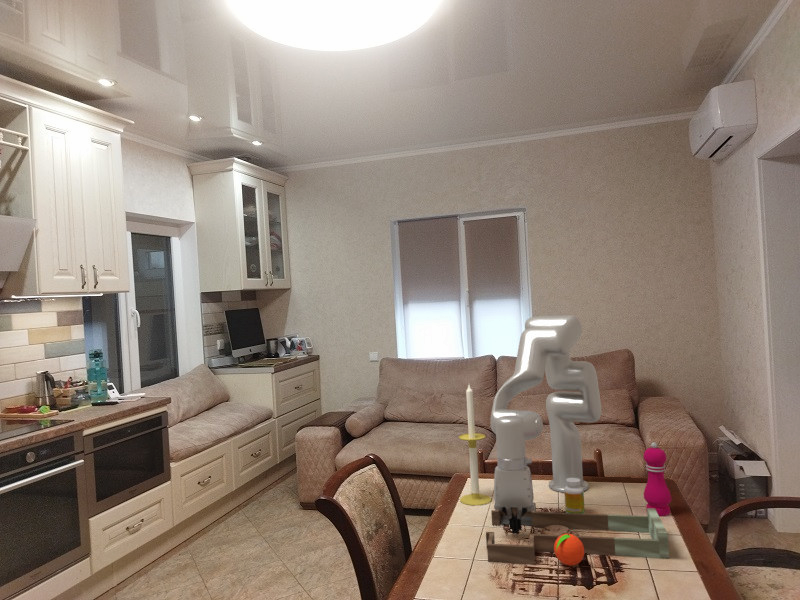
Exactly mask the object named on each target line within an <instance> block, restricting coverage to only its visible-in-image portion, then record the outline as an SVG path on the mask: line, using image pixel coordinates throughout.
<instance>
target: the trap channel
mask: <svg viewBox="0 0 800 600" xmlns="http://www.w3.org/2000/svg"><path fill="white" fill-rule="evenodd" d="M534 506H535V510H534V511H531V512H526V513H525V514H524V515H523V516H522V517H521V525H523V527H527V526H528V527H531V528H533V527H535V528H536V529H539V528H540V529H543V528H544V527H547V526H550V525H561V526H565V527H567V528H569V530H580V529H589V530H588V531H604V530H605V531H607V532H609V531H611V532H630V533H649V536H650V538H638V537H637V538H633V537H631V538H630V537H616V536H615V537H611V536H610V537H609V536H594V535H593V536H592V535H591V536H589V535H579V536H576V537H577V538H579V539H580V541H581V542H582V544H583V546H584V555H593V554H598V555H597V556H612V557H613V556H615V557H632V558H635V557H636V558H653V559H670V549H669V534H668V533H669V532H668V531H667V529H666V527H665V525H664V524H663V523H664V522H663V521H662V520H661V518H660V517H661V516H659V515H658V513H657V511H656V510H655V508H647V511H646V515H640V514H639V515H635V514H634V515H633V514H611V513H610V514H605V513H604V514H603V513H600V514H599V513H584V514H583V513H566V512H556V511H555V512H552V511H550V512H549V511H537V508H536V507H537V506H536V502H534ZM517 509H518V507H512V511H513V513H514V516H516V513H517ZM490 514H491V526H492V525H493V527H499V526H501V525H500V524H503V525H504V524H505V525H504V526H510V525H509V518H508V516H507V515H506V514H505V513H504V512H503V511H499V510H496V509H494V510H492V509H491V511H490ZM494 525H496V526H494ZM497 525H498V526H497ZM503 525H502V526H503ZM535 528H534V529H535ZM605 531H604V532H605ZM559 536H561V535H549V534H540V533H529V543H528V545H526V544H507V543H496V540H495V531H485V540H486V541H485V542H486V544H485V545H486V551H487V562H489V563H491V562H492V563H506V564H507V563H509V564H520V565H521V564H522V565H523V564H525V565H535V559H536V557H535V556H536V554H535V553H536V552H538V553H555V552H554V544H555V541H556V540H557V538H558V537H559ZM585 553H587V554H585Z"/></svg>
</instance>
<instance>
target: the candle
mask: <svg viewBox="0 0 800 600" xmlns="http://www.w3.org/2000/svg"><path fill="white" fill-rule="evenodd" d="M465 395H466V397H465V398H466V413H467V414H466V415H467V428H468V430H467V431H468V433H463V434H461V435H459V436H458V439H459V440H461V441H467V443H468V454H469V474H470V475H469V476H470V491H471V494H465V495H464V496H462V497H460V498H459V501H460V503H462V504H463V505H465V506H471V507H474V506H475V505H480V506H484V505H483V504H485V505H488V504H490V503H491V502H492V498H491V497H490V496H489V495H487V494H482V493H480V484H479V482H480V480H479V468H478V467H479V466H478V464H479V463H478V450H477V449H478V448H477V446H478V445H477V441H481V440H484V439H485V438H486V435H485V434H483V433H477V432H476V427H475V426H476V424H475V423H476V422H475V410H474V409H475V407H474V391H473V389H472V388H471V385H470V384H468V386H467V388H466V391H465ZM489 502H490V503H489ZM487 503H488V504H487Z"/></svg>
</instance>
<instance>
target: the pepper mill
mask: <svg viewBox="0 0 800 600" xmlns="http://www.w3.org/2000/svg"><path fill="white" fill-rule="evenodd" d="M643 459H644V462H646V464H645V466H646V468H645V470H646V471H647V476H648V477H647V481H646V485H645V487H644V490H643V498H644V499H643V500H644V501H645V502H646V505H645V509H646V512H647V508H655V510H656V511H657V513H658V515H659V517H667V516H669V515H670V514H671V507H670V503H671V502H672V495H671V491H670V489H669V487H668V485H667V482H666V480H665V471H666V465H665V463H666V462H667V454H666V453H665V451H664V450H663V449H661V448H659V447H658V443H657V442H655V441H653V442H651V444H650V447H648V448H647V449H645V451H644V452H643Z"/></svg>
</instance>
